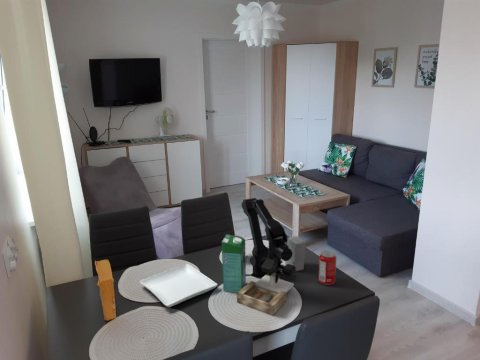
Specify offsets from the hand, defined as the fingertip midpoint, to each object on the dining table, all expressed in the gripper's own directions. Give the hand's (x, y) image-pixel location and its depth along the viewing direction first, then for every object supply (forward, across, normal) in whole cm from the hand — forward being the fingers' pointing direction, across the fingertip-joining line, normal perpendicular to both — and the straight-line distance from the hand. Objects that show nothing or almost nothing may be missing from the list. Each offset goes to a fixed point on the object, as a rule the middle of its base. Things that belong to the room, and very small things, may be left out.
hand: (274, 282), depth 175 cm
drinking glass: (+4, -32, +15) cm, 35 cm away
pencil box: (+4, 0, -12) cm, 13 cm away
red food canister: (+4, +18, +19) cm, 27 cm away
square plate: (+4, -39, -23) cm, 45 cm away
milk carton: (+4, -17, -8) cm, 19 cm away
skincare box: (+4, -1, +24) cm, 24 cm away
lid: (+2, 0, 0) cm, 2 cm away
